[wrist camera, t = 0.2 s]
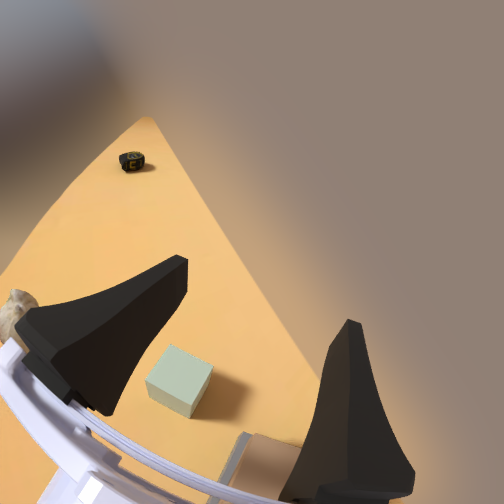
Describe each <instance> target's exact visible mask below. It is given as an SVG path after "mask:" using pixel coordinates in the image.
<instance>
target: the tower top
mask: <svg viewBox="0 0 504 504" xmlns="http://www.w3.org/2000/svg"><path fill="white" fill-rule="evenodd" d="M301 449H302V448H298V447H295V446H292V445H289V444H286V443H283V442H280V441H277V440H274V439H271V438H268V437H265V436H262V435H260V434H257V433H255V434H254V435H253V436H252V437H250V438H249V439H248V441H247V443H246V446H245V448H244V450H243V452H242V455H241V457H240V459H239V461H238V463H237V465H236V468H235V470H234V472H233V474H232V476H231V478H230V480H229V482H228V484H227V486H229V487H232V488H235V489H238V490H241V491H244V492H247V493H251V494H254V495H257V496H261V497H265V498H268V499H272V500H276V501H278V498H279V495H280V493H281V491H282V489H283V487H284V486H285V484H286V482H287V480H288V478H289V476H290V474H291V472H292V470H293V468H294V465H295V463H296V461H297V459H298V456H299V454H300V452H301ZM285 503H286V502H285ZM218 504H234V503H231V502H228V501H225V500H222V499H220V500H219V502H218Z"/></svg>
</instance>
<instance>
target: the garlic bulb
mask: <svg viewBox="0 0 504 504" xmlns="http://www.w3.org/2000/svg"><path fill="white" fill-rule="evenodd" d="M34 307H39V306H38V303H37V301H36V299H35V298H34V297H33V296H32V295H30V294H29V293H27V292H25V291H21V290H18V289H11V291H10V296H9V298H8V300H7V302H6V304H5V305H4V306H3V307H2V308H1V309H0V340H1V342H2V344H5V343H6V341H7V340H8V339H9V338H10V337H12V338H13V339H14V340H15V341H16V342H17V343H18V345H19V346H20V347H21V348H22V349H23V350H24V351H25V352H26V354H27V353H28V352H29V351H30V350H29V349H28V347H27V346H26V345H25V343H24V342H23V341H22V339H21V338H20V336H19V335H18V333H17V332H16V330H15V328H14V325H15V324H16V323H17V322H18V321H19V319H20V318H21V317H22V316H23V315H24V314H25V313H26V312H27V311H28V310H29V309H30V308H34Z"/></svg>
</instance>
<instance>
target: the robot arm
mask: <svg viewBox="0 0 504 504" xmlns="http://www.w3.org/2000/svg"><path fill="white" fill-rule="evenodd" d="M187 283H188V259H186V258H184V257H181V256H179V255H174V256H172V257H170V258H168V259H167V260H165V261H163V262H161V263H159V264H157V265H156V266H154V267H152V268H150V269H148V270H146V271H144V272H143V273H141V274H139V275H137V276H135V277H133V278H131V279H129V280H127V281H125V282H123V283H120V284H118V285H116V286H114V287H112V288H109V289H107V290H104V291H102V292H99V293H96V294H93V295H90V296H87V297H84V298H80V299H77V300H74V301H70V302H65V303H61V304H56V305H50V306H42V307H34V308H30V309H29V310H28V311H27V312H26V313H25V314H24V315H23V316H22V317H21V318H20V319H19V321H18V322H17V323H16V324H15V325H14V328H15V330H16V332H17V333H18V335H19V336H20V338H21V339H22V341H23V342H24V343H25V345H26V346H27V347H28V349H29V350H30V351H29V352H28V353H27V354H26V352H25V351H24V350H23V349H22V348H21V347H20V346H19V345H18V343H17V342H16V341H15V340H14V339H13V338H12V337H10V338H9V339H8V340H7V341H6V343H5V344H4V345H3V346H2V347H1V348H0V394H1V396H2V397H3V399H4V400H5V402H6V403H7V405H8V406H9V408H10V409H11V410H12V412H13V413H14V415H15V416H16V417H17V419H18V420H19V421H20V423H21V424H22V425H23V427H24V428H25V429H26V430H27V432H28V433H29V434H30V435H31V437H32V438H33V439H34V440H35V441H36V442H37V444H38V445H39V446H40V447H41V448H42V449H43V450H44V452H45V453H46V454H47V455H48V456H49V457H50V458H51V459H52V460H53V461H54V462H55V463H56V464H57V465H58V466H59V469H58V470H57V472H56V473H55V475H54V476H53V478H52V479H51V481H50V483H49V484H48V486H47V487H46V489H45V491H44V492H43V494H42V495H41V497H40V499H39V500H38V502H37V503H36V504H195V503H193V502H190V501H188V500H186V499H183V498H181V497H179V496H177V495H175V494H173V493H170V492H168V491H166V490H164V489H162V488H160V487H158V486H156V485H154V484H152V483H150V482H148V481H146V480H145V479H143V478H141V477H139V476H137V475H135V474H134V473H132V472H130V471H129V470H127V469H125V468H123V467H122V466H120V465H119V462H120V460H121V459H122V457H121V456H120V455H118V454H117V453H115V452H114V451H112V450H111V449H109V448H108V447H107V446H105V445H104V444H102V443H101V442H99V441H98V440H96V439H95V438H93V437H92V435H91V430H92V431H94V432H95V433H96V434H98V435H99V436H101V437H102V438H103V439H105V440H106V441H108V442H109V443H111V444H112V445H114V446H115V447H117V448H118V449H120V450H121V451H123V452H125V453H126V454H128V455H129V456H131V457H133V458H134V459H136V460H138V461H140V462H141V463H143V464H145V465H147V466H148V467H150V468H152V469H154V470H156V471H158V472H160V473H162V474H164V475H166V476H168V477H170V478H172V479H174V480H176V481H178V482H180V483H182V484H185V485H187V486H189V487H191V488H194V489H196V490H198V491H201V492H203V493H206V494H208V495H211V496H214V497H216V498H219V499H222V500H225V501H228V502H231V503H234V504H389V500H390V499H395V498H401V497H405V496H408V495H410V494H412V491H413V486H414V481H415V471H414V469H413V468H412V466H411V464H410V463H409V461H408V460H407V458H406V456H405V455H404V453H403V451H402V449H401V447H400V446H399V444H398V442H397V440H396V437H395V435H394V433H393V431H392V429H391V426H390V424H389V422H388V419H387V417H386V414H385V412H384V409H383V406H382V403H381V400H380V397H379V394H378V391H377V387H376V384H375V381H374V377H373V373H372V369H371V365H370V361H369V357H368V352H367V348H366V344H365V339H364V334H363V329H362V325H361V323H358V322H355V321H352V320H350V319H347V321H346V322H345V324H344V326H343V327H342V329H341V330H340V332H339V333H338V334H337V336H336V337H335V339H334V340H333V342H332V343H331V345H330V346H329V350H328V353H327V356H326V360H325V363H324V367H323V372H322V378H321V383H320V388H319V393H318V398H317V403H316V408H315V412H314V416H313V420H312V423H311V425H310V428H309V431H308V434H307V437H306V439H305V442H304V444H303V447H302V449H301V452H300V454H299V456H298V459H297V461H296V463H295V465H294V468H293V470H292V472H291V474H290V476H289V478H288V480H287V482H286V484H285V486H284V487H283V489H282V491H281V493H280V495H279V498H278V501H276V500H272V499H268V498H265V497H261V496H257V495H254V494H251V493H247V492H244V491H241V490H238V489H235V488H232V487H229V486H226V485H223V484H221V483H218V482H215V481H213V480H210V479H208V478H205V477H203V476H200V475H198V474H196V473H193V472H191V471H189V470H187V469H185V468H182V467H180V466H178V465H176V464H174V463H172V462H170V461H168V460H166V459H164V458H162V457H160V456H158V455H156V454H155V453H153V452H151V451H149V450H147V449H146V448H144V447H142V446H140V445H139V444H137V443H135V442H134V441H132V440H130V439H129V438H127V437H125V436H124V435H122V434H121V433H119V432H118V431H116V430H115V429H113V428H112V427H110V426H109V425H107V424H106V423H104V422H103V421H102V420H100V419H99V418H97V417H96V416H95V415H93V414H92V413H91V412H89V411H88V410H87V407H89V408H90V409H91V410H93V411H95V410H97V411H98V412H99V413H101V414H102V415H104V416H111V415H113V412H114V410H115V408H116V405H117V403H118V401H119V399H120V396H121V394H122V392H123V390H124V388H125V386H126V384H127V382H128V380H129V378H130V376H131V375H132V373H133V371H134V369H135V367H136V365H137V364H138V362H139V360H140V359H141V357H142V355H143V354H144V352H145V350H146V349H147V347H148V346H149V345H150V343H151V342H152V341H153V339H154V338H155V337H156V335H157V334H158V333H159V332H160V330H161V329H162V328H163V327H164V325H165V324H166V323H167V321H168V320H169V319H170V318H171V316H172V315H173V314H174V312H175V311H176V310H177V308H178V307H179V305H180V303H181V302H182V300H183V298H184V296H185V295H186V293H187ZM89 428H90V429H91V430H90V429H89ZM285 502H286V503H285Z"/></svg>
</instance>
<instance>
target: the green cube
mask: <svg viewBox="0 0 504 504" xmlns="http://www.w3.org/2000/svg"><path fill="white" fill-rule="evenodd" d="M213 367H214V366H213V365H211V364H209V363H207V362H205V361H203V360H201V359H199V358H197V357H195V356H193V355H191V354H189V353H187V352H185V351H183V350H181V349H179V348H177V347H175V346H173V345H172V344H170V345H169V346H168V348H167V349H166V351H165V352H164V353H163V355H162V356H161V358H160V359H159V361H158V362H157V363H156V365H155V366H154V368H153V369H152V370H151V372H150V373H149V375H148V376H147V378H146V379H145V382H146V386H147V390H148V394H149V397H150V398H152V399H153V400H155V401H157V402H159V403H160V404H162V405H164V406H166V407H168V408H169V409H171V410H173V411H175V412H177V413H179V414H181V415H183V416H185V417H187V418H189V419H190V417H191V415H192V414H193V412H194V410H195V408H196V406H197V405H198V403H199V401H200V399H201V397H202V396H203V394H204V392H205V390H206V388H207V387H208V385H209V381H210V378H211V374H212V370H213Z"/></svg>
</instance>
